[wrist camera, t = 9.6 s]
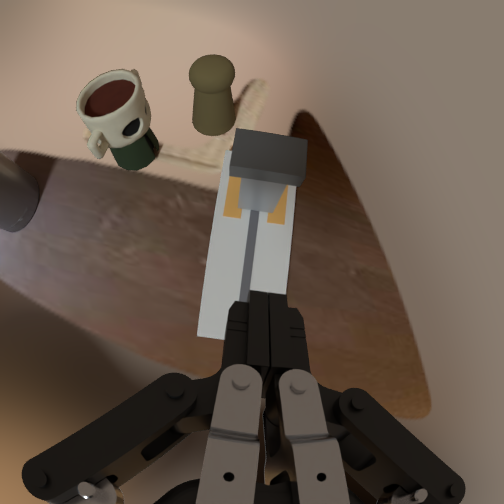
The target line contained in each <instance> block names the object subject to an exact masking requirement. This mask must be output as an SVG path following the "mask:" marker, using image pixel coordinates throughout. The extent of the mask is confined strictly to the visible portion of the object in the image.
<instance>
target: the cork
mask: <svg viewBox="0 0 504 504" xmlns="http://www.w3.org/2000/svg"><path fill="white" fill-rule="evenodd" d="M234 77H235V69H234V66H233V64H232V63H231V61H230V60H228V59H227V58H226V57H223V56H221V55H206V56H202V57H200V58H199V59H197V60H196V61H195V62H194V63H193V64H192V66H191V68H190V70H189V80H190V82H191V84H192V86H193V87H194V88H195V92H194V104H193V118H192V120H193V122H192V123H193V125H194V128H195V129H196V130H197V131H198V132H200V133H202V134H204V135H208V136H218V135H221V134H224V133H226V132H228V131H229V130H230V129H231V128H232V127H233V126H234V123H235V120H236V118H235V111H234V105H233V99H232V93H231V87H230V86H231V85H232V82H233V80H234Z"/></svg>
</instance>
